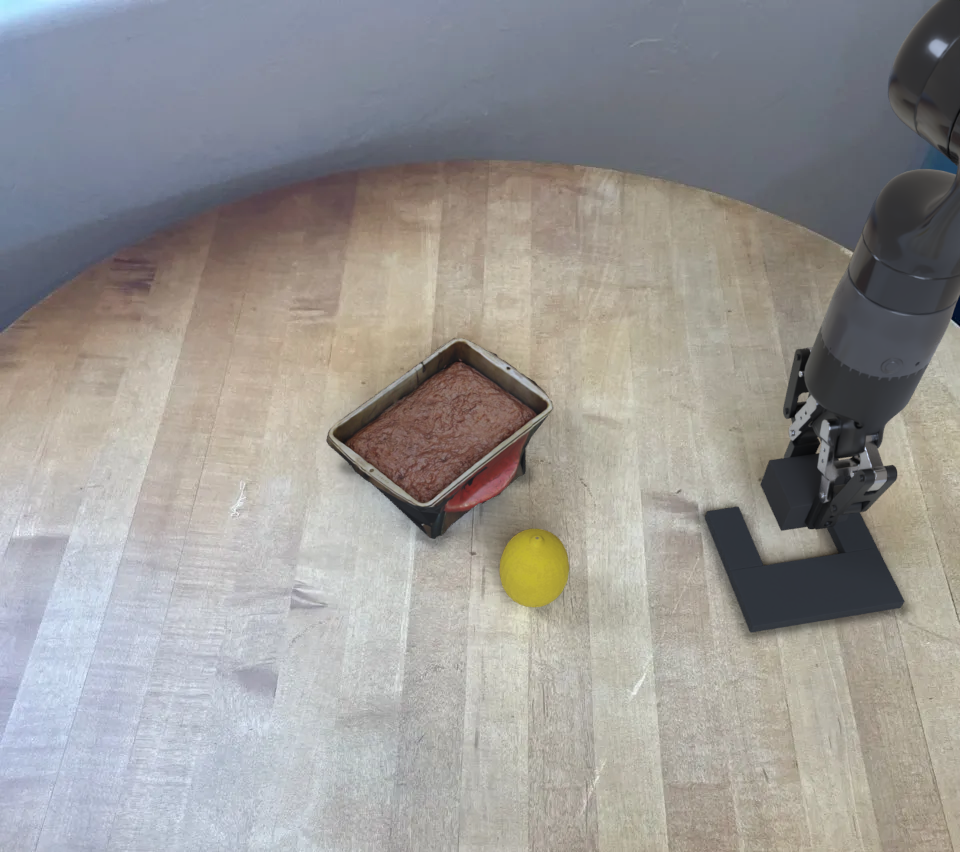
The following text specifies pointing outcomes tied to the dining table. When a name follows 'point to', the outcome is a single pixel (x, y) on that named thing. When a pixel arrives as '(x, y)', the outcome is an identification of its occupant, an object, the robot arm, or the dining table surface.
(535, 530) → the lemon
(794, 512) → the black block
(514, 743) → the dining table surface
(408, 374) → the baking dish
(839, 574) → the charcoal pad
